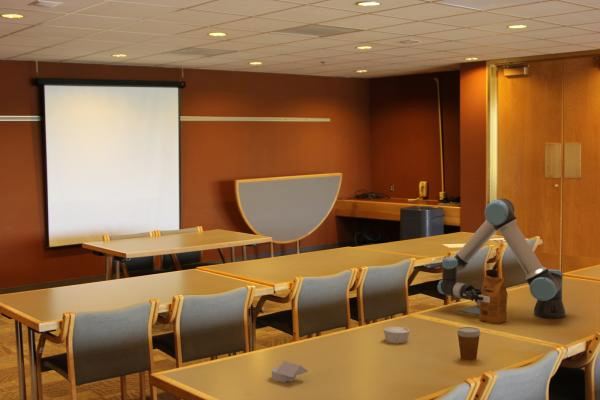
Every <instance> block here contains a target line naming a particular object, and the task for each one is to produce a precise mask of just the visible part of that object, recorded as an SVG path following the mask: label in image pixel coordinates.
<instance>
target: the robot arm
mask: <svg viewBox="0 0 600 400" xmlns="http://www.w3.org/2000/svg"><path fill="white" fill-rule="evenodd" d="M484 218H485V221H484V222H483V223H482V224H481V225H480V227H478V229H477V230H476V231H475V232H474V233H473V235H471V237H470V238H469V239H468V240H467V242H466V243H465V244H464V245H463V246H462V248H460V250H459V251H458V252H457V253H456V255H455V256H454V257H453V256H452V257H451V256H448V257H447V256H446V257H443V258H442V263H441V267H442V272H441V273H442V275H441V277H442V278H441V280H439V282H438V283H437V291H438V293H439V294H441V295H444V296H450V297H454V298H458V299H459V300H460V299H464V300H470V301H472V302H475V303H476V302H477V300H478V301H483V302H488V303H490V297H488V296H483V295H481V291H482V287H480V288H475V287H474V285H472V284H468V283H463V282H458V273H461V272H463V271H464V270H465V269H466V268H467V266H468V264H470V262H471V261H472V259H474V257H475V256H476V255H477V253H478V252H479V251H481V249H482V248H483V247H484V246H485V245H486V243H487V242H488V241H489V240H490V239H491V238H492V236H493V235H494V234H495V233H496V232H498V233H500V234H501V236H502V237H503V240H504V241H505V242H506V244H507V246H508V247H509V248H510V251H511V252H512V253H513V255H514V257H515V258H516V260H517V262H518V264H519V265H520V266H521V268H522V270H523V272H524V274H525V281H526V283H527V284H528V286H529V292H530V294H531V296H532V297H533V298H534V299H536V303H535V306H534V309H533V314H534V316H536V317H539V318H547V319H561V318H564V317H566V308H565V306H564V302H563V278H564V275H563V272H562V270H561V269H553V268H552V269H549V268H548V267H545V266H543V265H542V263H541V262H540V261H539V259H538V257H537V255H536V254H535V251H533V249H532V247H531V245H530V244H529V242H528V241H527V239H526V236H525V235H524V234H523V232H522V231H521V229H520V228H519V225H518V224H517V221H518V219H517V216H516V215H515V205H514V203H513V202H512V200H509V199H507V198H499V199H494V200H492V201H490V202H489V203H488V204H487V205H486V206H485V208H484ZM508 299H509V294H508V292H507V300H508Z"/></svg>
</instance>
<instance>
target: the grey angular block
mask: <svg viewBox="0 0 600 400" xmlns="http://www.w3.org/2000/svg"><path fill="white" fill-rule="evenodd" d="M308 372H309V370H307V369H306V368H305V367H303V365H300V364H297V363H293V362H289V361H286V360H285V361H284V360H283V361H282V362H281V364H280V366H276V367H273V368H272V369H271V380H272V379H273V380H272V381H274V380H275V381H274V382H276V381H282V382H281V383H287V382H286V381H290V382H292V381H291V380H294V379H295V378H296V379H297V376H299V375H303V374H305V373H308ZM296 379H295V380H296ZM295 380H294V381H295Z"/></svg>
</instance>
